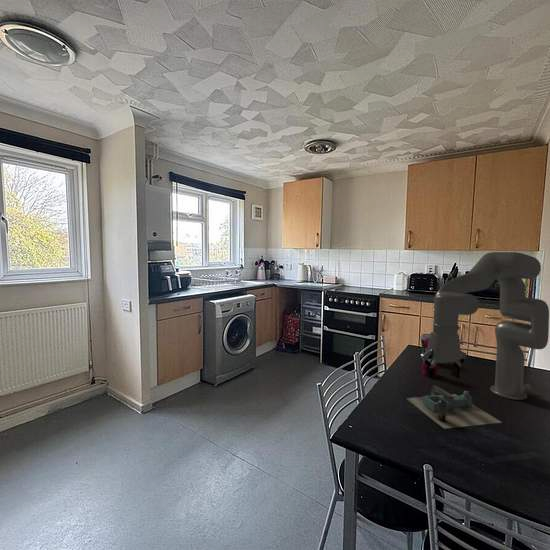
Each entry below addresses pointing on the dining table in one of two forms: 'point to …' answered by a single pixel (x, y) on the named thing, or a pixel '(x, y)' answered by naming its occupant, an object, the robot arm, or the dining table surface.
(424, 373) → the pepper mill
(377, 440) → the dining table surface
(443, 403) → the pin
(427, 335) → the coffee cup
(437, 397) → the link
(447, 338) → the robot arm
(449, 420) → the board
